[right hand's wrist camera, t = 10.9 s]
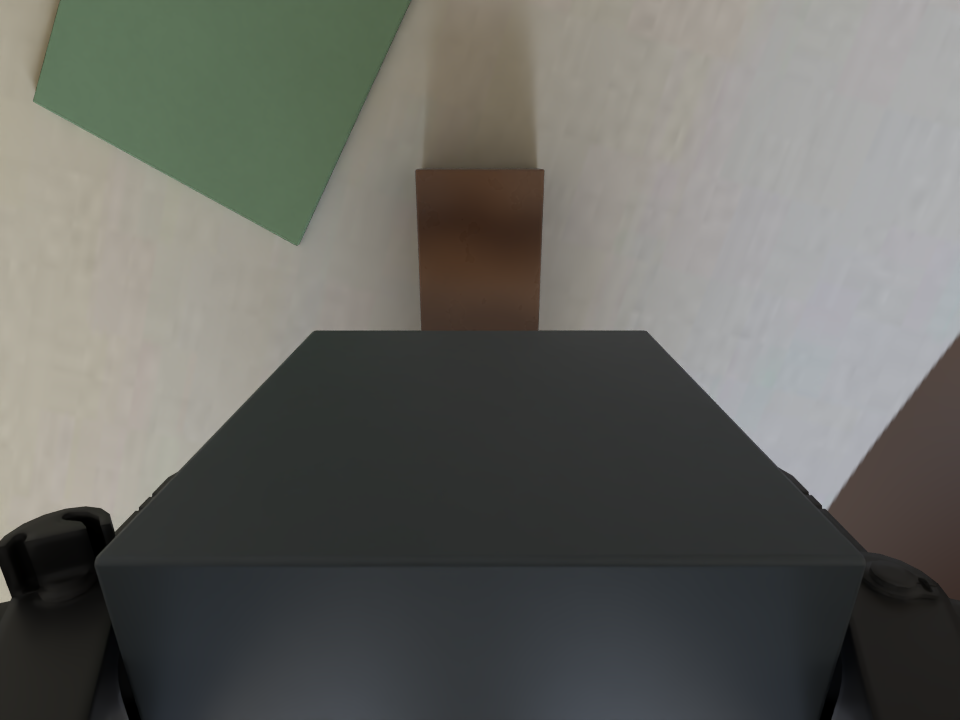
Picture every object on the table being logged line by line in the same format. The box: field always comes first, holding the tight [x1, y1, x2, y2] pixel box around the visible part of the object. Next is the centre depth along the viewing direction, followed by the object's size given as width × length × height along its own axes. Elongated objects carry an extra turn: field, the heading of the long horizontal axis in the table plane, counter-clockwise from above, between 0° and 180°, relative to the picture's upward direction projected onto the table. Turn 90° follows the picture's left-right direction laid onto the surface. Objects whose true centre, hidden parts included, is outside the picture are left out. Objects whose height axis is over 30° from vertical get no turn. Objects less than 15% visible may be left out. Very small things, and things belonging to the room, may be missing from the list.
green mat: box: [33, 0, 411, 246], centre depth 26 cm, size 14×14×1 cm
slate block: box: [94, 331, 866, 720], centre depth 10 cm, size 5×8×8 cm, turn 90°
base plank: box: [415, 168, 544, 331], centre depth 28 cm, size 26×6×9 cm, turn 0°
